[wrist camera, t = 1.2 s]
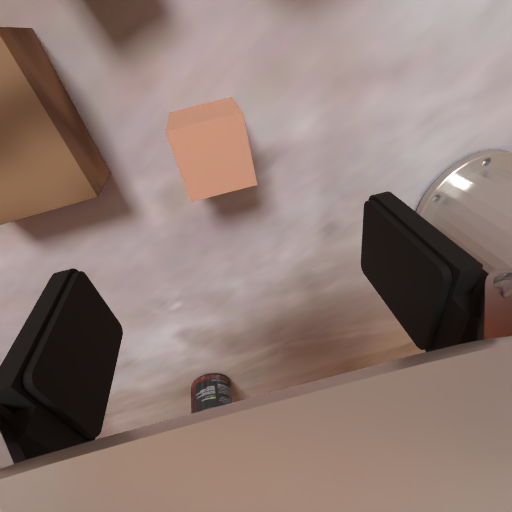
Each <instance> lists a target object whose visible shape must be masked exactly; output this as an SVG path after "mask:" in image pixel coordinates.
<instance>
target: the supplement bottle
mask: <svg viewBox="0 0 512 512" xmlns="http://www.w3.org/2000/svg"><path fill="white" fill-rule="evenodd" d="M230 403H233V401H232V394H231V387H230V382H229V379H228V378H227V377H225V376H223V375H220V374H208V375H204V376H202V377H200V378H198V379H197V380H196V381H194V383H193V384H192V387H191V414H192V413H196V412H200V411H204V410H207V409H211V408H215V407H219V406H222V405H226V404H230Z"/></svg>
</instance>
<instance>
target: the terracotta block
mask: <svg viewBox="0 0 512 512" xmlns="http://www.w3.org/2000/svg"><path fill="white" fill-rule="evenodd" d="M166 134H167V137H168V140H169V143H170V146H171V148H172V151H173V154H174V157H175V159H176V162H177V165H178V168H179V170H180V173H181V176H182V179H183V181H184V184H185V187H186V190H187V192H188V195H189V198H190V201H191V202H193V201H197V200H201V199H205V198H209V197H213V196H216V195H220V194H224V193H228V192H232V191H236V190H239V189H243V188H247V187H251V186H255V185H257V181H256V176H255V171H254V166H253V161H252V156H251V151H250V146H249V141H248V136H247V131H246V126H245V121H244V116H243V112H242V111H241V109H240V108H239V106H238V105H237V104H236V102H235V101H234V99H233V98H232V97H229V98H225V99H221V100H217V101H213V102H209V103H205V104H201V105H197V106H193V107H189V108H185V109H181V110H177V111H173V112H170V114H169V119H168V123H167V128H166Z"/></svg>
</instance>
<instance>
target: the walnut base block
mask: <svg viewBox="0 0 512 512" xmlns="http://www.w3.org/2000/svg"><path fill="white" fill-rule="evenodd" d="M110 174H111V172H110V170H109V169H108V167H107V165H106V163H105V161H104V159H103V158H102V156H101V154H100V152H99V150H98V148H97V147H96V145H95V143H94V141H93V139H92V137H91V136H90V134H89V132H88V130H87V128H86V126H85V125H84V123H83V121H82V119H81V117H80V115H79V114H78V112H77V110H76V108H75V106H74V104H73V103H72V101H71V99H70V97H69V95H68V93H67V91H66V90H65V88H64V86H63V84H62V82H61V80H60V79H59V77H58V75H57V73H56V71H55V69H54V68H53V66H52V64H51V62H50V60H49V58H48V57H47V55H46V53H45V51H44V49H43V47H42V46H41V44H40V42H39V40H38V38H37V36H36V35H35V33H34V31H33V29H32V28H13V27H0V225H1V224H5V223H8V222H12V221H15V220H19V219H22V218H26V217H29V216H33V215H36V214H40V213H43V212H47V211H50V210H54V209H57V208H61V207H64V206H68V205H71V204H75V203H78V202H82V201H86V200H89V199H93V198H96V197H98V196H99V194H100V192H101V190H102V188H103V187H104V185H105V183H106V181H107V179H108V177H109V176H110Z"/></svg>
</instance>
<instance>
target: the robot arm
mask: <svg viewBox="0 0 512 512" xmlns="http://www.w3.org/2000/svg"><path fill="white" fill-rule="evenodd" d="M361 268H362V271H363V273H364V274H365V276H366V277H367V278H368V280H369V281H370V283H371V284H372V285H373V287H374V288H375V289H376V291H377V292H378V294H379V295H380V296H381V298H382V299H383V300H384V302H385V303H386V305H387V306H388V307H389V309H390V310H391V311H392V313H393V314H394V316H395V317H396V318H397V320H398V321H399V322H400V324H401V325H402V326H403V328H404V329H405V331H406V332H407V333H408V335H409V336H410V337H411V339H412V340H413V342H414V343H415V344H416V346H417V347H418V348H419V349H421V350H424V349H425V350H426V353H421V354H417V355H413V356H409V357H405V358H401V359H397V360H393V361H389V362H385V363H382V364H378V365H374V366H370V367H366V368H362V369H359V370H355V371H351V372H347V373H343V374H339V375H336V376H332V377H328V378H324V379H320V380H316V381H313V382H309V383H305V384H301V385H297V386H294V387H290V388H286V389H282V390H279V391H275V392H271V393H267V394H264V395H260V396H256V397H252V398H248V399H245V400H241V401H237V402H233V403H230V404H226V405H222V406H219V407H215V408H211V409H207V410H204V411H200V412H196V413H192V414H189V415H185V416H181V417H178V418H174V419H170V420H167V421H163V422H159V423H156V424H152V425H148V426H144V427H141V428H137V429H133V430H130V431H126V432H122V433H119V434H115V435H111V436H108V437H104V438H100V439H97V440H95V437H97V436H98V435H99V434H100V432H101V429H102V425H103V420H104V416H105V412H106V407H107V403H108V398H109V394H110V389H111V385H112V380H113V376H114V371H115V367H116V362H117V358H118V353H119V349H120V344H121V340H122V335H123V331H122V327H121V324H120V323H119V321H118V320H117V319H116V317H115V316H114V314H113V313H112V311H111V310H110V308H109V307H108V306H107V304H106V303H105V301H104V300H103V298H102V297H101V296H100V294H99V293H98V291H97V290H96V288H95V287H94V285H93V284H92V283H91V281H90V280H89V278H88V277H87V275H86V274H85V273H84V272H82V271H80V272H79V271H78V270H76V269H69V270H65V271H61V272H57V273H54V274H53V275H52V276H51V278H50V280H49V282H48V284H47V285H46V287H45V289H44V291H43V292H42V294H41V296H40V298H39V299H38V301H37V303H36V305H35V306H34V308H33V310H32V312H31V313H30V315H29V317H28V319H27V320H26V322H25V324H24V326H23V327H22V329H21V331H20V333H19V334H18V336H17V338H16V340H15V341H14V343H13V345H12V347H11V348H10V350H9V352H8V354H7V355H6V357H5V359H4V361H3V363H2V364H1V366H0V512H512V153H510V152H508V151H504V150H486V151H482V152H478V153H476V154H473V155H470V156H468V157H466V158H464V159H463V160H461V161H459V162H457V163H456V164H454V165H453V166H452V167H450V168H449V169H448V170H446V171H445V172H444V173H443V174H442V175H441V176H440V177H439V178H438V179H437V180H436V181H435V182H434V183H433V184H432V185H431V187H430V188H429V189H428V190H427V192H426V193H425V195H424V197H423V198H422V200H421V202H420V204H419V206H418V208H417V211H416V212H415V211H414V210H413V209H411V208H410V207H409V206H407V205H406V204H405V203H404V202H402V201H401V200H400V199H399V198H397V197H396V196H395V195H393V194H392V193H391V192H384V193H380V194H376V195H371V196H370V198H369V201H366V202H365V204H364V216H363V234H362V253H361Z"/></svg>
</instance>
